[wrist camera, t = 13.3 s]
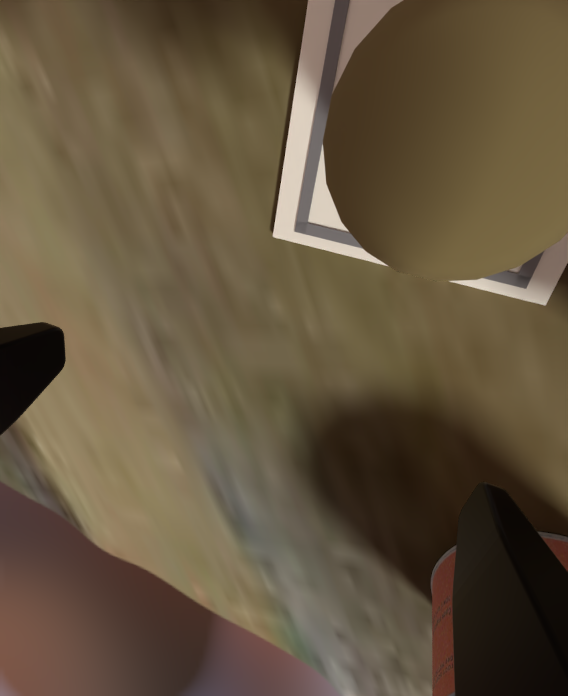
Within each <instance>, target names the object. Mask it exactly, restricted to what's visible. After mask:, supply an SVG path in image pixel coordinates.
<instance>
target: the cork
mask: <svg viewBox="0 0 568 696" xmlns="http://www.w3.org/2000/svg"><path fill="white" fill-rule="evenodd" d="M323 151H324V163H325V175H326V185H327V187H328V190H329V192H330V195H331V197H332V200H333V202H334V205H335V207H336V210H337V212H338V215H339V217H340V220H341V222H342V223H343V225H344V226H345V227H346V228H347V230H348V231H349V232H350V233H351V234H352V236H353V237H354V238H355V239H356V240H357V242H358V243H359V244H360V245H361V246H362V248H363V249H364V250H365V251H366V252H367V253H369V254H370V255H372V256H374V257H375V258H377V259H378V260H380V261H381V262H383V263H385V264H386V265H388V266H389V267H391V268H392V269H394V270H396V271H397V272H401V273H405V274H409V275H412V276H416V277H420V278H424V279H428V280H432V281H460V280H478V279H481V278H484V277H487V276H490V275H494V274H497V273H500V272H503V271H506V270H509V269H513V268H516V267H519V266H521V265H522V264H524V263H525V262H527V261H529V260H530V259H532V258H533V257H535V256H537V255H538V254H540V253H541V252H543V251H544V250H546V249H548V248H549V247H551V246H552V245H554V244H556V243H557V242H559V241H560V240H561V239H562V238H563V237H564V236H565V235H566V234H567V233H568V0H403V1H401V2H400V3H398V4H397V5H395V6H393V7H392V8H391V9H390V10H389V11H388V12H387V13H386V14H385V15H384V17H383V18H382V19H381V20H380V21H379V22H378V23H377V24H376V26H375V27H374V28H373V29H372V30H371V31H370V32H369V33H368V34H367V36H366V37H365V38H364V39H363V40H362V41H361V42H360V43H359V45H358V46H357V47H356V48H355V49H354V51H353V53H352V55H351V57H350V59H349V61H348V63H347V65H346V67H345V69H344V71H343V73H342V75H341V77H340V79H339V81H338V83H337V85H336V87H335V89H334V91H333V93H332V96H331V101H330V106H329V111H328V117H327V122H326V127H325V132H324V137H323Z"/></svg>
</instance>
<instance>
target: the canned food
mask: <svg viewBox="0 0 568 696" xmlns="http://www.w3.org/2000/svg"><path fill="white" fill-rule="evenodd" d="M538 533H539V535H540V536H541V537H542V538H543V540H544V541H545V542H546V544H547V545H548V546H549V548H550V549H551V550H552V552H553V553H554V554H555V556H556V557H557V558H558V559H559V561H560V562H561V563H562V565H563V566H564V567H565V569H566V570H567V571H568V537H566V536H561V535H557V534H552V533H545V532H538ZM455 555H456V545H455V546H454V547H452V548H451V549H449V550H448V551H447V552H446V553H445V554H444V555H443V556H442V557H441V558H440V559H439V560H438V562H437V563H436V565H435V567H434V569H433V572H432V576H431V593H432V649H433V696H455V684H454V653H453V621H452V593H453V579H454V567H455Z"/></svg>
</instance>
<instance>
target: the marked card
mask: <svg viewBox="0 0 568 696" xmlns="http://www.w3.org/2000/svg"><path fill="white" fill-rule="evenodd" d="M401 1H403V0H308V6H307V12H306V19H305V26H304V32H303V39H302V46H301V52H300V59H299V66H298V72H297V79H296V86H295V92H294V99H293V106H292V112H291V119H290V125H289V132H288V139H287V145H286V152H285V159H284V165H283V172H282V179H281V185H280V192H279V199H278V205H277V212H276V219H275V225H274V232H273V237H275V238H279V239H283V240H287V241H291V242H295V243H299V244H303V245H307V246H311V247H315V248H319V249H323V250H327V251H331V252H335V253H339V254H343V255H347V256H351V257H355V258H359V259H363V260H367V261H371V262H374V263H378V264H382V265H386V264H385V263H383V262H381V261H380V260H378V259H377V258H375V257H374V256H372V255H370V254H369V253H367V252H366V251H365V250H364V249H363V248H362V246H361V245H360V244H359V243H358V242H357V240H356V239H355V238H354V237H353V236H352V234H351V233H350V232H349V231H348V230H347V228H346V227H345V226H344V225H343V223H342V222H341V220H340V217H339V215H338V212H337V210H336V207H335V205H334V202H333V200H332V197H331V195H330V192H329V190H328V187H327V185H326V175H325V163H324V151H323V137H324V132H325V127H326V122H327V117H328V111H329V106H330V101H331V96H332V93H333V91H334V89H335V87H336V85H337V83H338V81H339V79H340V77H341V75H342V73H343V71H344V69H345V67H346V65H347V63H348V61H349V59H350V57H351V55H352V53H353V51H354V49H355V48H356V47H357V46H358V45H359V43H360V42H361V41H362V40H363V39H364V38H365V37H366V36H367V34H368V33H369V32H370V31H371V30H372V29H373V28H374V27H375V26H376V24H377V23H378V22H379V21H380V20H381V19H382V18H383V17H384V15H385V14H386V13H387V12H388V11H389V10H390V9H391V8H392V7H393V6H395V5H397V4H398V3H400V2H401ZM567 263H568V233H567V234H566V235H565V236H564V237H563V238H562V239H561V240H560V241H559V242H557V243H556V244H554V245H552V246H551V247H549V248H548V249H546V250H544V251H543V252H541V253H540V254H538V255H537V256H535V257H533V258H532V259H530V260H529V261H527V262H525V263H524V264H522V265H521V266H519V267H516V268H513V269H509V270H506V271H503V272H500V273H497V274H494V275H490V276H487V277H484V278H481V279H478V280H460V281H450V282H454V283H458V284H462V285H466V286H470V287H474V288H478V289H482V290H486V291H490V292H494V293H498V294H502V295H506V296H510V297H514V298H518V299H522V300H526V301H530V302H534V303H538V304H542V305H545V306H546V304H547V302H548V300H549V298H550V296H551V294H552V292H553V290H554V288H555V286H556V284H557V282H558V280H559V278H560V276H561V275H562V273H563V271H564V269H565V267H566V265H567ZM386 266H388V265H386Z"/></svg>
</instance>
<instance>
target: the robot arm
mask: <svg viewBox="0 0 568 696" xmlns="http://www.w3.org/2000/svg"><path fill="white" fill-rule="evenodd" d="M64 364H65V343H64V333H63V331H62V329H60V328H59V327H56V326H54V325H51V324H48V323H44V322H40V323H33V324H25V325H18V326H11V327H4V328H0V435H2V434H3V433H4V432H5V431H6V430H7V429H8V428H9V427H10V426H11V425H12V424H13V423H14V422H15V421H16V420H17V419H18V418H19V417H20V416H21V415H22V414H23V413H24V412H25V411H26V409H27V408H28V407H29V406H30V405H31V404H32V403H33V402H34V401H35V399H36V398H37V397H38V396H39V395H40V394H41V393H42V392H43V390H44V389H45V388H46V387H47V386H48V385H49V384H50V383H51V382H52V380H53V379H54V378H55V377H56V376H57V375H58V374H59V373H60V372H61V370H62V369H63V367H64ZM452 621H453V653H454V684H455V696H568V571H567V570H566V569H565V567H564V566H563V565H562V563H561V562H560V561H559V559H558V558H557V557H556V556H555V554H554V553H553V552H552V550H551V549H550V548H549V546H548V545H547V544H546V542H545V541H544V540H543V538H542V537H541V536H540V535H539V533H538V532H537V531H536V529H535V528H534V527H533V525H532V524H531V523H530V521H529V520H528V519H527V517H526V516H525V515H524V513H523V512H522V511H521V510H520V508H519V507H518V506H517V504H516V503H515V502H514V500H513V499H512V498H511V496H510V495H509V494H508V493H507V491H506V490H505V489H503V488H501V487H498V486H495V485H493V484H490V483H487V482H481V483H479V484H478V485H477V487H476V488H475V490H474V491H473V493H472V494H471V496H470V497H469V499H468V500H467V502H466V504H465V505H464V507H463V508H462V510H461V513H460V516H459V521H458V532H457V544H456V555H455V567H454V579H453V593H452Z"/></svg>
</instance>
